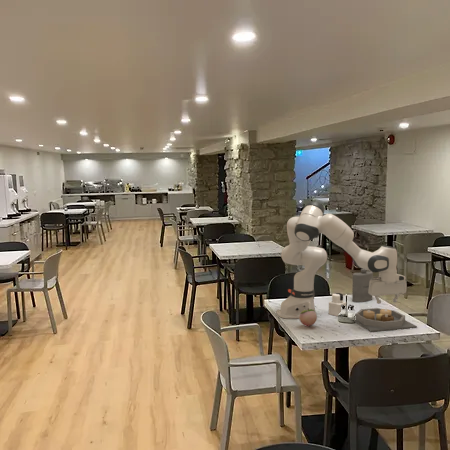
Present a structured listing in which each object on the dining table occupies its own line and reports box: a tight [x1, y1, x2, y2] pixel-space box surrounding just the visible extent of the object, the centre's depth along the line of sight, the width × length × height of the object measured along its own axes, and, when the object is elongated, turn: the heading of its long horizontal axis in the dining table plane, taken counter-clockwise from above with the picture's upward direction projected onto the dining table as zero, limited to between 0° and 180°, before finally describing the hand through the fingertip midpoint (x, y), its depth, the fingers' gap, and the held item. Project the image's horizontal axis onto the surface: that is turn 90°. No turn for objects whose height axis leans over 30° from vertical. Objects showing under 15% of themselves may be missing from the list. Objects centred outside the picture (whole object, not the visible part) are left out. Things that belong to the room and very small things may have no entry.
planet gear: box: [381, 315, 394, 322], centre depth 236 cm, size 6×6×4 cm
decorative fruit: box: [298, 308, 318, 328], centre depth 235 cm, size 9×8×10 cm
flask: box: [351, 268, 374, 303], centre depth 282 cm, size 15×6×20 cm, turn 118°
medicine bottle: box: [328, 292, 347, 317], centre depth 255 cm, size 7×7×12 cm
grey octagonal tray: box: [354, 307, 418, 333], centre depth 241 cm, size 26×26×6 cm
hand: (386, 302), depth 235 cm, fingers open, 8 cm apart
